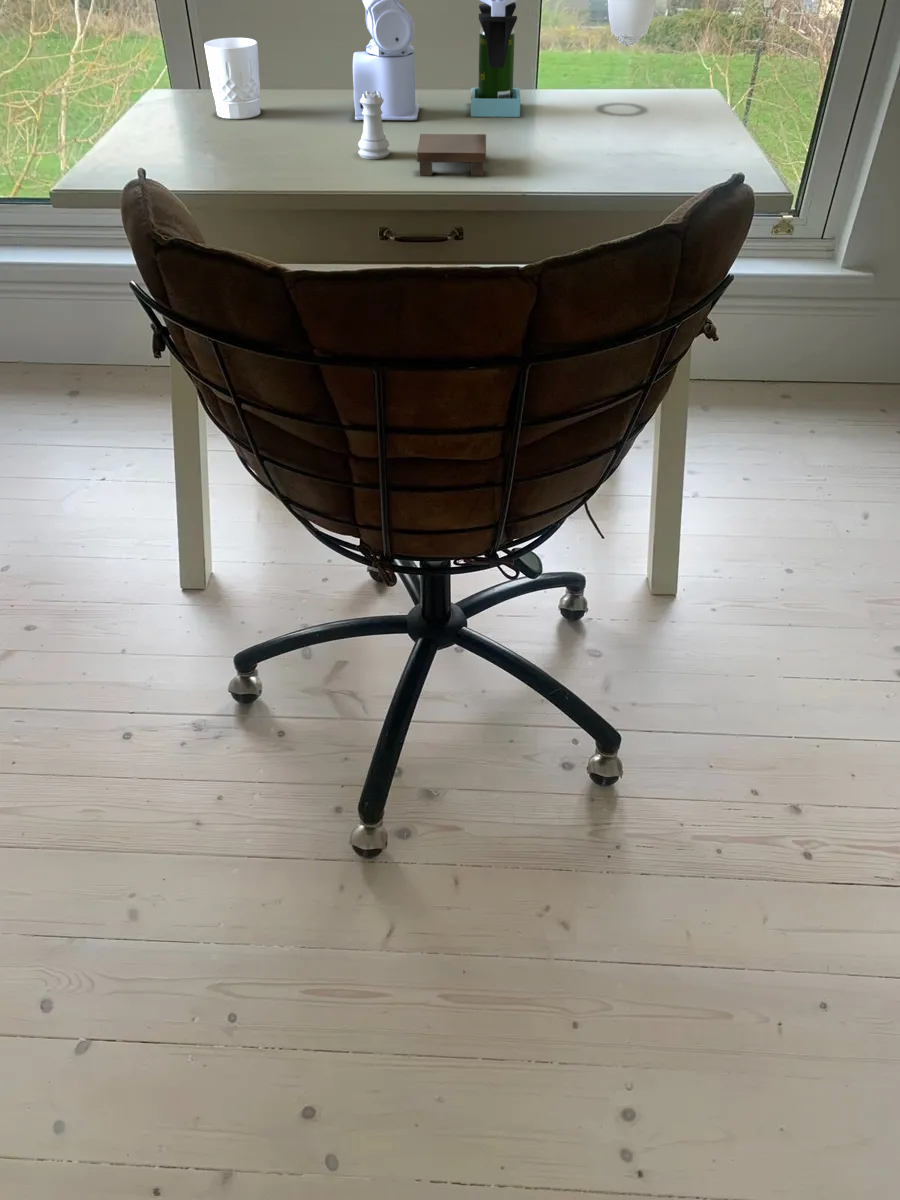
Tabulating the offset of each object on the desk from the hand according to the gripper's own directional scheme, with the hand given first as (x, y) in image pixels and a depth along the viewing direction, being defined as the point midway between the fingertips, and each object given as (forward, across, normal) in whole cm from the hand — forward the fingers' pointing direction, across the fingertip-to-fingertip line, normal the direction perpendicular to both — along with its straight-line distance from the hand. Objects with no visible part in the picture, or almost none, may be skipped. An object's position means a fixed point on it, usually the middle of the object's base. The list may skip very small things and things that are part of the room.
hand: (496, 61), depth 161 cm
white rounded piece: (+7, +1, -20) cm, 21 cm away
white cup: (+7, -3, +40) cm, 41 cm away
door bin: (+7, 0, 0) cm, 7 cm away
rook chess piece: (+7, -25, +17) cm, 31 cm away
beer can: (+7, 0, 0) cm, 7 cm away
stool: (+7, -30, +6) cm, 31 cm away
